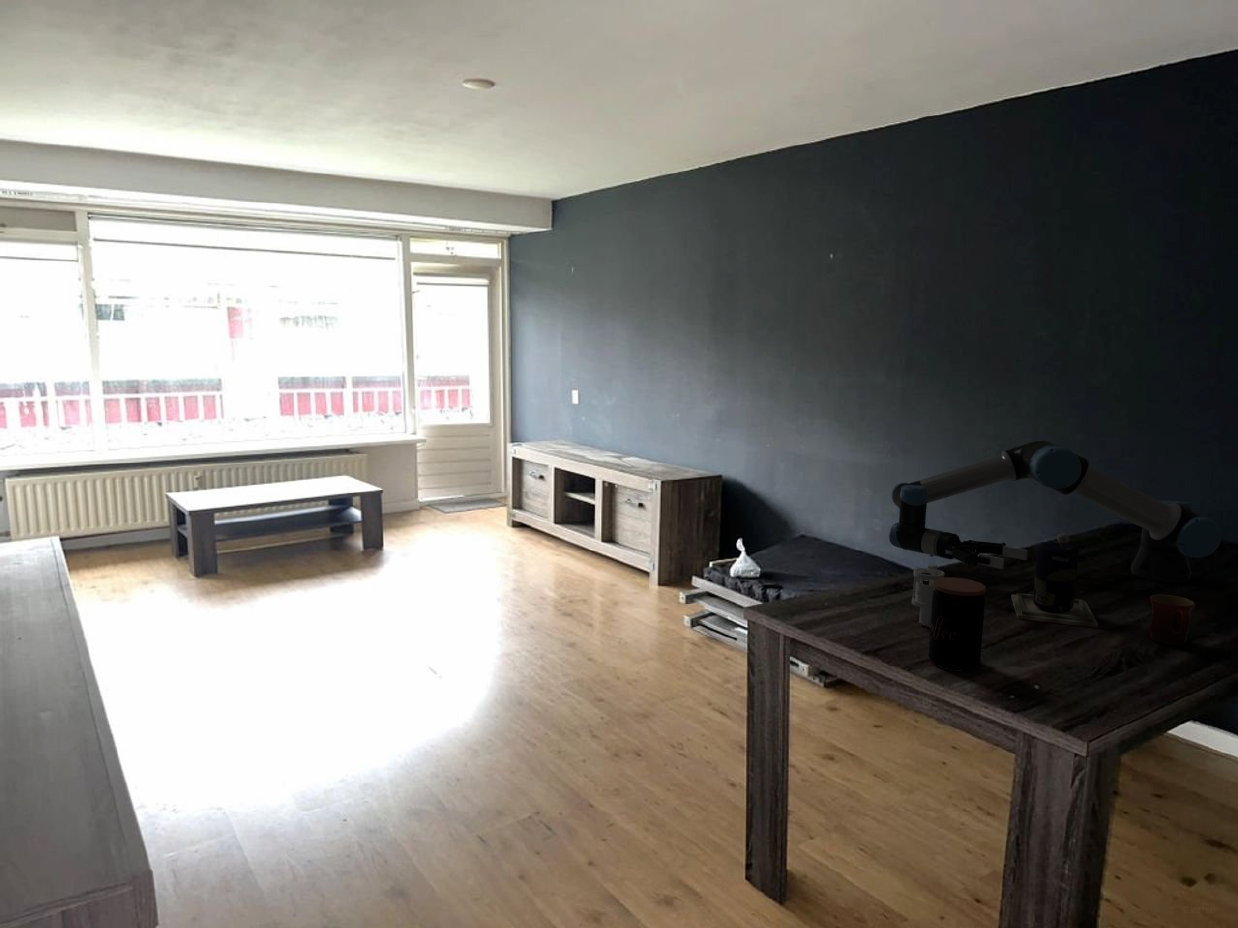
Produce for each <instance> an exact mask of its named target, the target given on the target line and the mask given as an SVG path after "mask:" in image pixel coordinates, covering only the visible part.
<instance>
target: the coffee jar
mask: <svg viewBox="0 0 1238 928" xmlns="http://www.w3.org/2000/svg"><path fill="white" fill-rule="evenodd" d="M933 587H934V588H935V590H934V591H933V594H932V609H931V624H930V627H929V638H928V639H929V640H928V641H929V642H928V654H927V655H928V658H929V659H930V661H931V660H932V661H931V663H932V662H933V663H935V664H936V665H939V666H941V667H943V668H947V669H952V670H962V671H965V672H968V671H967V670H971V671H973V670H972V669H974V670H976V669H977V668H978V666H979V665H980V664H981V658H982V657H981V655H982V645H983V643H982V642H983V630H984V618H985V617H984V616H985V607H986V605H985V604H986V599H985V596H984V594H985V593H986V591H987V589H986V586H985V585H984V584H983V583H981V582H980V581H979V582H978V581H975V580H973V579H969V578H963V577H948V576H946V577H944V578H939V579H936V580H933ZM933 663H932V664H933ZM935 664H934V665H935ZM936 665H935V666H936ZM941 667H940V668H941ZM943 668H942V669H943ZM947 669H946V670H947ZM962 671H961V672H962Z"/></svg>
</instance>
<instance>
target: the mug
mask: <svg viewBox="0 0 1238 928" xmlns="http://www.w3.org/2000/svg"><path fill="white" fill-rule="evenodd" d="M1149 597H1150V602H1151V607H1152V609H1151V610H1152V611H1151V619H1150V627H1149V634H1150V635H1149V636H1150V638H1151V639H1152V640H1153V641H1154V642H1155V643H1158V644H1161V645H1164V646H1170V647H1180V646H1183V645H1185V643H1186V642H1187V640H1188V633H1189V627H1190V621H1191V613H1192V611H1193V609H1194V608H1195V605H1196V604H1195V602H1194V601H1193V600H1191V599H1188V598H1186V597H1182V596H1177V595H1173V594H1157V593H1156V594H1152V595H1150V596H1149Z"/></svg>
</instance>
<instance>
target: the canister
mask: <svg viewBox="0 0 1238 928" xmlns="http://www.w3.org/2000/svg"><path fill="white" fill-rule="evenodd" d="M1078 559H1079V549H1078V547H1076V546H1074V545H1072V544H1068V543H1067V544H1065V543H1060V542H1058V540H1054V541H1044V542H1040V543H1039V544H1037V548H1036V559H1035V569H1034V583H1033V594H1032V595H1033V603H1034V604H1035V605H1036V606H1037V607H1039V608H1041V609H1045V610H1049V611H1056V612H1064V611H1069V610H1071V609H1072V608H1073V606H1074V599H1075V596H1076V585H1077V578H1078V577H1077V574H1078V573H1077V570H1078V561H1079V560H1078Z"/></svg>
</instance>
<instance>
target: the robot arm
mask: <svg viewBox="0 0 1238 928" xmlns="http://www.w3.org/2000/svg"><path fill="white" fill-rule="evenodd" d="M1023 479H1032V480H1033V481H1036V482H1038V483H1039V484H1040V485H1042V486H1045V487H1046V488H1050V489H1052V490H1054V491H1056V492H1058V493H1060V494H1063V495H1065V496H1070V495H1073V494H1074V495H1076V496H1078V497H1080V498H1082V499H1084V500H1086V501H1089V502H1090V503H1092V504H1095V505H1097V506H1098V507H1101V508H1103V509H1105V510H1106V511H1109V512H1111V513H1113V514H1114V515H1116V516H1119V517H1120V518H1123V519H1125V520H1127V521H1129V522H1131V523H1132V524H1135V525H1137V526H1138V527H1141V534H1140V535H1141V538H1140V546H1139V549H1138V551H1137V554H1136V555H1135V557H1134V559H1133V561H1132V562H1131V567H1130V573H1131V574H1132V575H1134V576H1136V577H1139V578H1142V579H1146V580H1150V581H1156V582H1162V583H1173V584H1174V583H1176V584H1180V583H1181V584H1183V583H1188V582H1190V581H1191V579H1192V571H1191V567H1190V564H1189V559H1188V557H1190V558H1194V559H1200V558H1204V557H1208V556H1209V555H1212V554H1213V553H1214V552H1215V551H1216V550H1217V549H1218V548H1219V546H1220V544H1221V541H1222V531H1221V528H1220V526H1219V524H1217V523H1216V522H1215V521H1214V520H1213V519H1211V518H1210V517H1207V516H1204V515H1201V514H1199V513H1197V512H1194V511H1193V508H1192V507H1193V506H1192V503H1190V502H1186V501H1175V500H1173V501H1172V500H1157V499H1156V498H1154V497H1151V496H1150V495H1147V494H1146V493H1144V492H1141V491H1140V490H1138V489H1135V488H1133V487H1131V486H1129V485H1127V484H1125V483H1123V482H1122V481H1119V480H1117V479H1115V478H1113V477H1111V476H1109V475H1107V474H1106V473H1103V472H1101V471H1099V470H1096V469H1095V468H1092V467H1091V464H1090V461H1089V460H1088V459H1087V458H1085V457H1083V456H1081V455H1080V454H1077V453H1075V452H1074V451H1073V450H1071V449H1069V448H1067V447H1065V446H1062V445H1058V444H1055V443H1052V442H1049V441H1045V440H1035V441H1031V442H1027V443H1024V444H1021V445H1019V446H1016V447H1013V448H1010V449H1006V450H1003V451H1002V452H1001V454H1000V455H998V456H995V457H991V458H988V459H984V460H982V461H981V460H980V461H978V462H975V463H972V464H969V465H964V466H963V467H958V468H956V469H952V470H950V471H949V470H948V471H947V472H943V473H940V474H936V475H933V476H929V477H926V478H922V479H920V480H917V481H912V482H909V483H907V482H900V483H898V484H896V485H895V486H893V489H892V490H891V499H892V502H893V503H894V504H895V506H897V507H898V509H899V518H898V522H895V523H894V524H892V526H891V527H890V531H889V534H888V538H889V542H890V544H891V546H893V547H896V548H899V549H901V550H902V549H903V550H904V551H911V552H917V553H921V554H926V555H929V557H931V558H933V557H934V556H935V557H939V558H942V559H946V560H957V561H958V562H962V563H963V564H966V565H972V566H973V567H978V565H982V566H987V567H990V568H994V569H998V570H999V569H1000V570H1003V569H1005V568H1004V565H1005V558H1001V557H998V556H997V557H996V556H992V555H1002V556H1003V557H1008V558H1012V559H1017V560H1021V561H1027V560H1028V549H1027V550H1026V549H1022V548H1017V547H1013V546H1007V544H1006V542H1001V543H999V542H992V541H990V542H988V541H980V540H972V539H968V540H963V541H961V539H960V536H959V535H958V534H956V533H954V532H948V531H944V530H938V529H935V528H934V529H932V528H927V527H926V521H927V520H926V519H927V508H928V504H929V503H933V502H936V501H939V500H942V499H943V500H944V499H946V498H949V497H953V496H956V495H960V494H962V493H966V492H969V491H973V490H977V489H980V488H984V487H987V486H990V485H993V484H994V485H995V484H997V483H998V484H999V483H1000V482H1003V481H1008V480H1010V481H1012V482H1016V481H1019V480H1020V481H1021V480H1023Z"/></svg>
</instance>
